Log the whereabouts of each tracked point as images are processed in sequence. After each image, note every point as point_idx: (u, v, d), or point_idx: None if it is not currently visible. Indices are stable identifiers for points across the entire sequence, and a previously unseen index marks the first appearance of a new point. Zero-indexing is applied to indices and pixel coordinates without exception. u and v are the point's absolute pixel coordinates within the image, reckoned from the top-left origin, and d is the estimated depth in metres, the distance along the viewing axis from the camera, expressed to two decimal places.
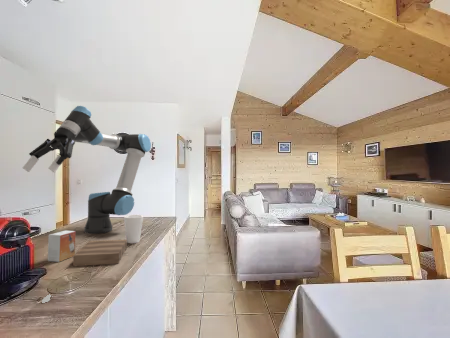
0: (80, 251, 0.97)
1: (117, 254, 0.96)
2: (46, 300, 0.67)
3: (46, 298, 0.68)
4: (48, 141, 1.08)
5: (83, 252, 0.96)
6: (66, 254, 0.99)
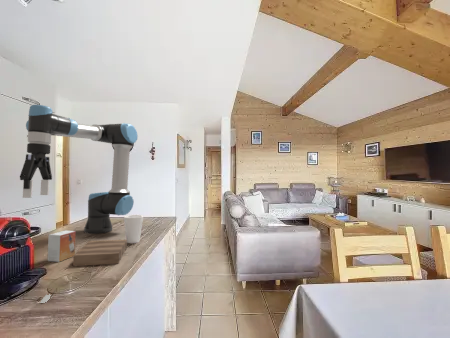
0: (80, 251, 0.97)
1: (117, 254, 0.96)
2: (46, 300, 0.67)
3: (45, 298, 0.68)
4: None
5: (83, 252, 0.96)
6: (66, 254, 0.99)
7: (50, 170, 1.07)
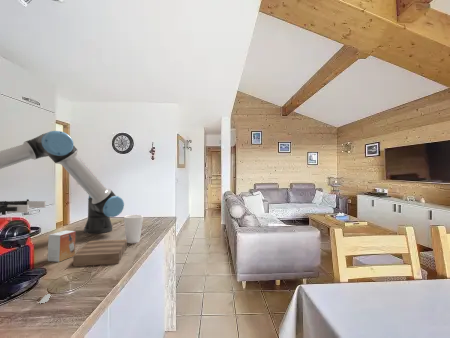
0: (80, 251, 0.97)
1: (117, 254, 0.96)
2: (45, 300, 0.67)
3: (45, 298, 0.68)
4: None
5: (83, 252, 0.96)
6: (66, 254, 0.99)
7: (18, 201, 1.04)
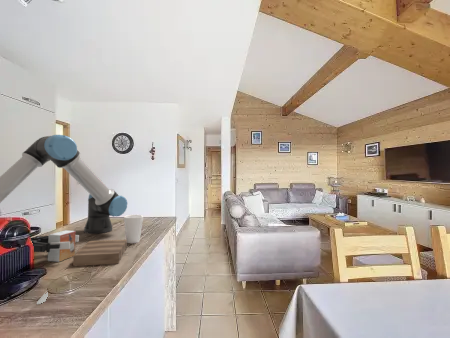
0: (80, 251, 0.97)
1: (117, 254, 0.96)
2: (42, 300, 0.67)
3: (42, 299, 0.68)
4: None
5: (83, 252, 0.96)
6: (66, 254, 0.99)
7: None
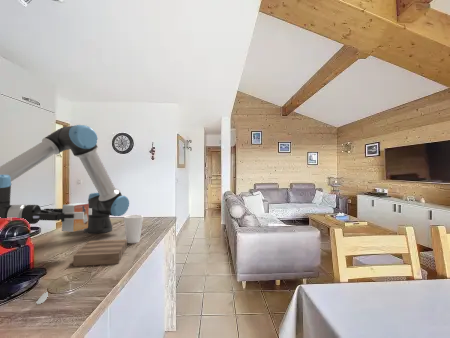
0: (80, 251, 0.97)
1: (117, 254, 0.96)
2: (41, 300, 0.67)
3: (41, 299, 0.68)
4: None
5: (83, 252, 0.96)
6: (80, 225, 1.00)
7: None
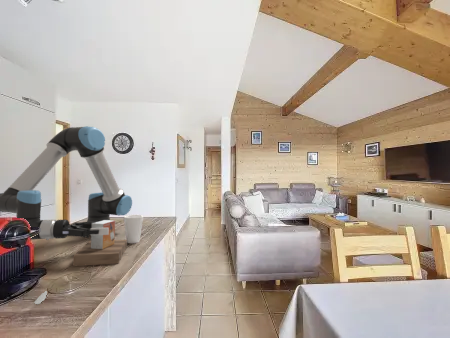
0: (80, 251, 0.97)
1: (117, 254, 0.96)
2: (40, 301, 0.67)
3: (39, 299, 0.68)
4: None
5: (83, 252, 0.96)
6: (108, 242, 1.03)
7: (90, 221, 1.11)
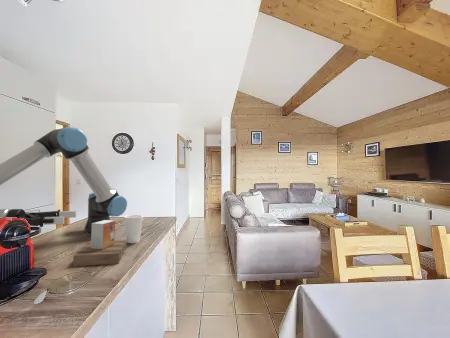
0: (80, 251, 0.97)
1: (117, 254, 0.96)
2: (38, 301, 0.67)
3: (38, 299, 0.68)
4: None
5: (83, 252, 0.96)
6: (108, 242, 1.03)
7: (50, 211, 1.08)
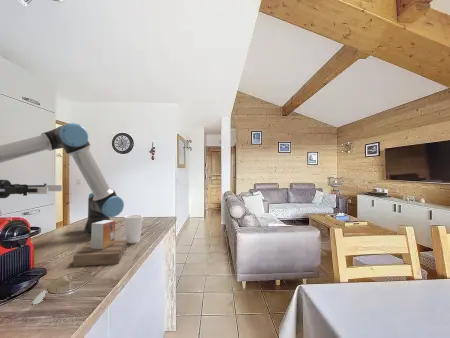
0: (80, 251, 0.97)
1: (117, 254, 0.96)
2: (37, 301, 0.67)
3: (37, 299, 0.68)
4: None
5: (83, 252, 0.96)
6: (108, 242, 1.03)
7: None
